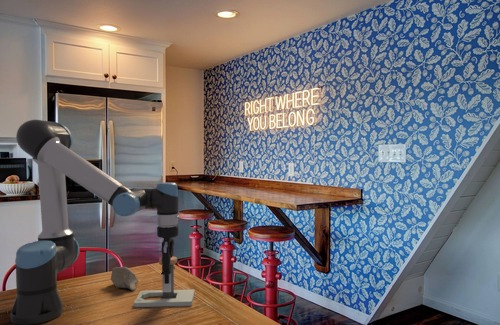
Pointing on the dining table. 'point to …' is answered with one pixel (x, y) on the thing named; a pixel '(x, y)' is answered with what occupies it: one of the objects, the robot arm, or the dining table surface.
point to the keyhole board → (181, 299)
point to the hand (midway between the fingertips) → (168, 289)
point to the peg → (171, 294)
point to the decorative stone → (124, 278)
